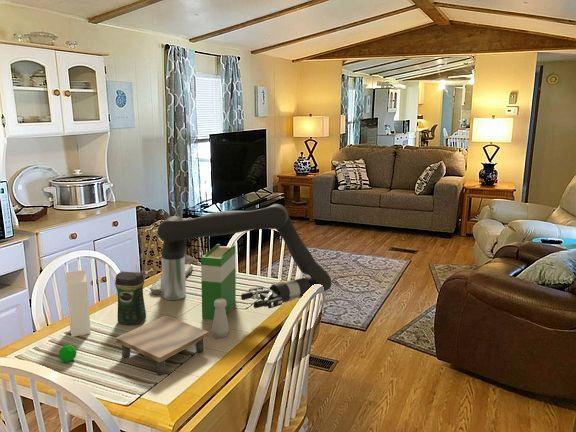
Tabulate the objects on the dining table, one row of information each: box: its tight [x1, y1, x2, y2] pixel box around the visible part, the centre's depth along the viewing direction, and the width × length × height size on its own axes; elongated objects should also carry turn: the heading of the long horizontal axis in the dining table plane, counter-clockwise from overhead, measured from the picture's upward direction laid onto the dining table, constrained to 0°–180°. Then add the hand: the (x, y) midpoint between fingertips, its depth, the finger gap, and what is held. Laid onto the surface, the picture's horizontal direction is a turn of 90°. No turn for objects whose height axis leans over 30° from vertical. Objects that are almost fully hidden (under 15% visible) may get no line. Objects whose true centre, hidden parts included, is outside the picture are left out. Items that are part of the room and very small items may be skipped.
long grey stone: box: [150, 263, 194, 295], centre depth 211 cm, size 35×5×10 cm
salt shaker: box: [211, 298, 230, 339], centre depth 161 cm, size 6×6×13 cm
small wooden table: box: [115, 315, 209, 376], centre depth 148 cm, size 20×20×6 cm
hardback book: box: [200, 243, 237, 321], centre depth 179 cm, size 18×7×24 cm, turn 169°
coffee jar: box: [114, 270, 147, 326], centre depth 169 cm, size 10×8×19 cm
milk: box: [65, 269, 92, 338], centre depth 159 cm, size 6×6×22 cm
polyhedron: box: [58, 344, 77, 363], centre depth 143 cm, size 5×5×5 cm
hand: (247, 301), depth 166 cm, fingers open, 8 cm apart
